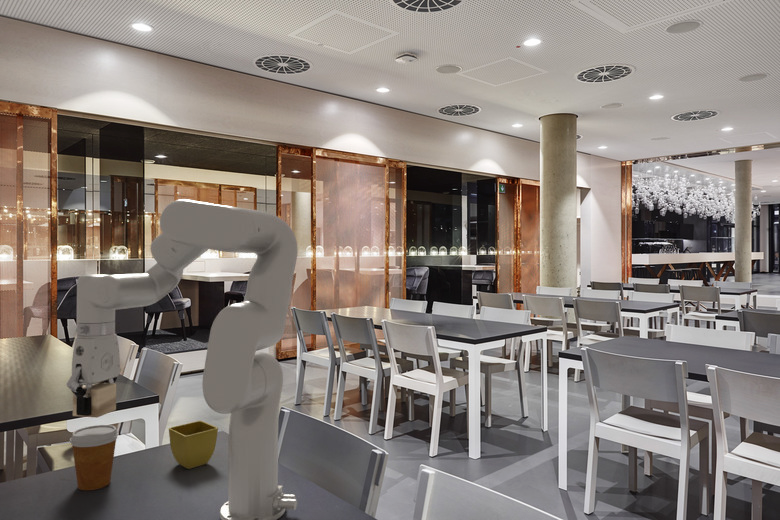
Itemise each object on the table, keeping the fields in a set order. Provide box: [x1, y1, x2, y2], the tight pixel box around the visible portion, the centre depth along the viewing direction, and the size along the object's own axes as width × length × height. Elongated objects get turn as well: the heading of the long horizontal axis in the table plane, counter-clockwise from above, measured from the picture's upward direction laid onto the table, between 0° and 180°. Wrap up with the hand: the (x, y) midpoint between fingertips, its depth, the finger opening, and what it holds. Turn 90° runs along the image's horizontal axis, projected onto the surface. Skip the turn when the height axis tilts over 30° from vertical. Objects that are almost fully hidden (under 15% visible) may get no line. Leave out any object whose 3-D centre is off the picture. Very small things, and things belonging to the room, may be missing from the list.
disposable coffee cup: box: [69, 424, 119, 491], centre depth 119 cm, size 10×10×12 cm
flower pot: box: [168, 420, 219, 470], centre depth 131 cm, size 9×9×9 cm
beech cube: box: [72, 382, 117, 418], centre depth 119 cm, size 6×6×6 cm
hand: (94, 409), depth 119 cm, fingers closed on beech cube, 6 cm apart
